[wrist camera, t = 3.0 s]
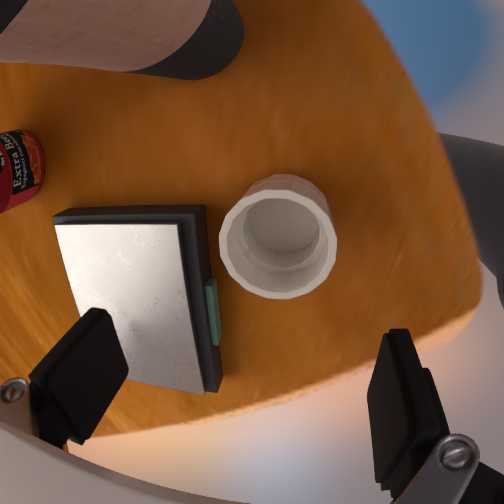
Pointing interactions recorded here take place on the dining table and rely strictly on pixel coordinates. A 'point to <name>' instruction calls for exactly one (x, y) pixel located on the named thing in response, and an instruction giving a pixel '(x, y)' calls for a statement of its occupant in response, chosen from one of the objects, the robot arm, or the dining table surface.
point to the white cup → (279, 237)
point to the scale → (195, 263)
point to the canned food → (19, 168)
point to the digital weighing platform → (138, 295)
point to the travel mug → (123, 35)
